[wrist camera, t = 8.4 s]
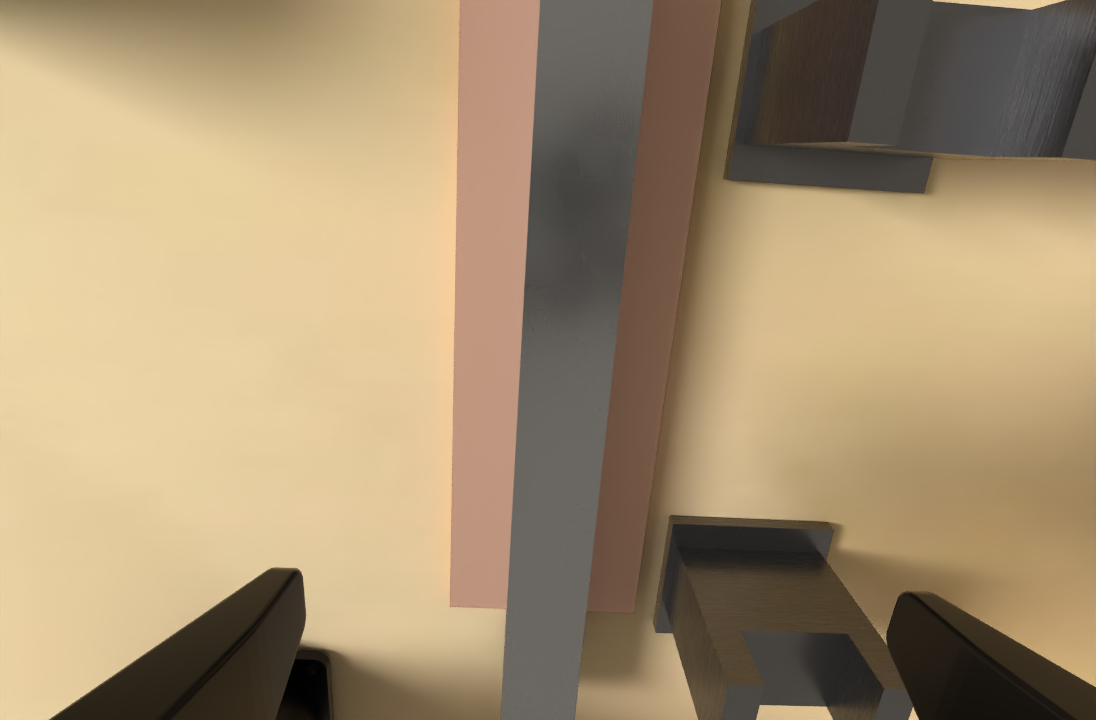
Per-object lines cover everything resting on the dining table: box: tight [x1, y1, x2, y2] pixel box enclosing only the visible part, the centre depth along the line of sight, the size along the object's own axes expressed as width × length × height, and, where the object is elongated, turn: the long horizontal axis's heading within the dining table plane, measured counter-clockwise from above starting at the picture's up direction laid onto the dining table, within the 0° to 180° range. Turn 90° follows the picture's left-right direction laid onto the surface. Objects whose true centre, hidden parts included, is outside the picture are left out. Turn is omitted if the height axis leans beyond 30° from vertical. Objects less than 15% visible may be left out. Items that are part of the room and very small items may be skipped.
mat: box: [450, 0, 721, 613], centre depth 19 cm, size 24×7×1 cm, turn 176°
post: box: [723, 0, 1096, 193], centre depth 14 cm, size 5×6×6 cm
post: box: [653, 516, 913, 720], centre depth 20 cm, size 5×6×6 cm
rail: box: [501, 0, 653, 720], centre depth 18 cm, size 26×3×3 cm, turn 176°
